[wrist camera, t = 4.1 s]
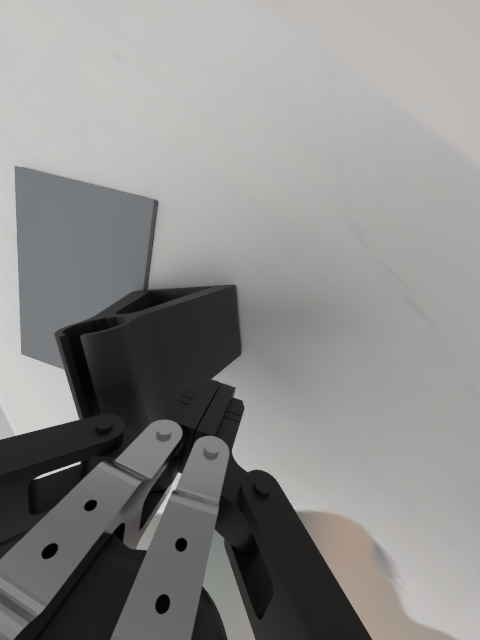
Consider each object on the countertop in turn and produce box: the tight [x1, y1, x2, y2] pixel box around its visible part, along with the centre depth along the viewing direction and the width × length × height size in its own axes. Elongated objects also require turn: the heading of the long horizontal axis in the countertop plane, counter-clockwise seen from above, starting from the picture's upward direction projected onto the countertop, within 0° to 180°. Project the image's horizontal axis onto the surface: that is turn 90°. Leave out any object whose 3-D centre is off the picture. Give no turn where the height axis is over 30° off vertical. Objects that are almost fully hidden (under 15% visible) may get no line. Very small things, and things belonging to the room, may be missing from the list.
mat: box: [15, 166, 158, 370], centre depth 23 cm, size 13×18×1 cm
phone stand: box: [54, 285, 241, 429], centre depth 16 cm, size 9×6×12 cm, turn 94°
